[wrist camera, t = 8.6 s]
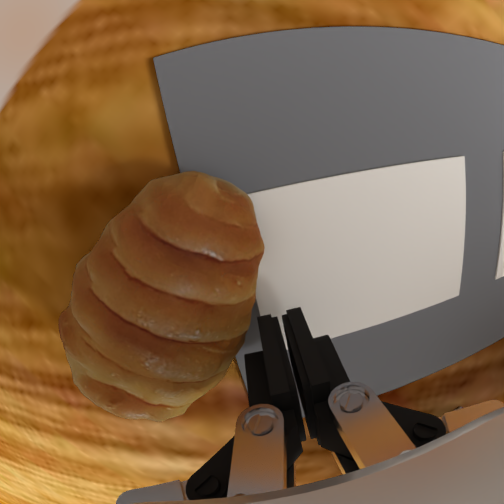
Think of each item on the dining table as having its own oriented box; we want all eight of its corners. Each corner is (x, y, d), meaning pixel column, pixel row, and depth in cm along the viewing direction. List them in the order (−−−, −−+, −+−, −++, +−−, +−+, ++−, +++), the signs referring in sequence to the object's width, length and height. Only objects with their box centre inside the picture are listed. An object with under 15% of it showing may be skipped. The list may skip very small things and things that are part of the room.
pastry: (137, 132, 10) (90, 138, 6) (309, 220, 11) (343, 265, 8) (70, 330, 13) (37, 386, 9) (199, 387, 14) (195, 451, 11)
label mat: (573, 70, 9) (576, 70, 9) (561, 297, 16) (563, 298, 16) (154, 59, 9) (152, 57, 9) (259, 424, 16) (260, 428, 16)
